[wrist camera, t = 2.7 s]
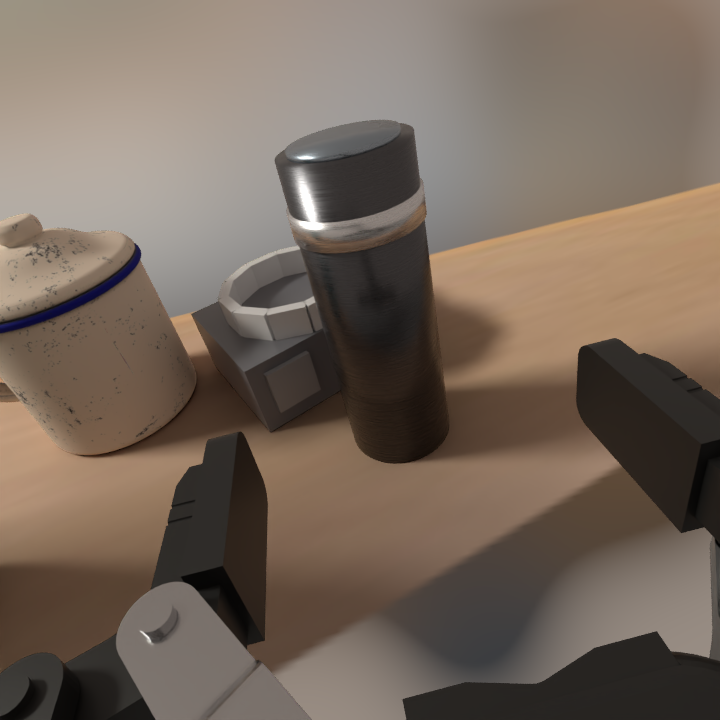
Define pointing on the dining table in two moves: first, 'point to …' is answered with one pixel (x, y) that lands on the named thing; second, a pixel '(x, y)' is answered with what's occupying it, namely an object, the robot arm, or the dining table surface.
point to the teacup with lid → (86, 337)
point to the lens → (371, 280)
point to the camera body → (270, 338)
